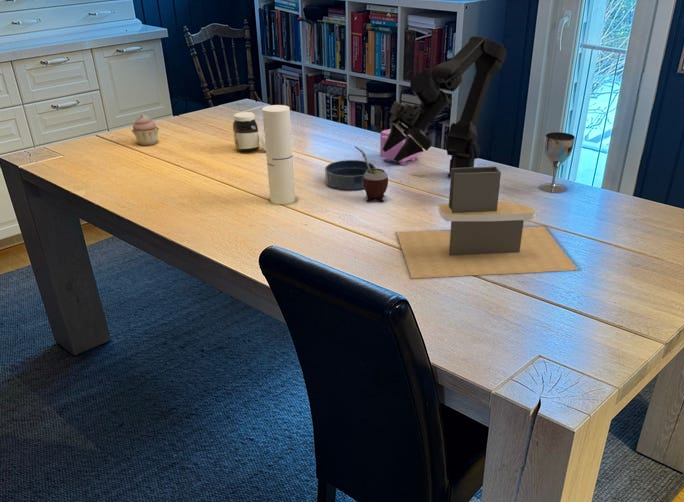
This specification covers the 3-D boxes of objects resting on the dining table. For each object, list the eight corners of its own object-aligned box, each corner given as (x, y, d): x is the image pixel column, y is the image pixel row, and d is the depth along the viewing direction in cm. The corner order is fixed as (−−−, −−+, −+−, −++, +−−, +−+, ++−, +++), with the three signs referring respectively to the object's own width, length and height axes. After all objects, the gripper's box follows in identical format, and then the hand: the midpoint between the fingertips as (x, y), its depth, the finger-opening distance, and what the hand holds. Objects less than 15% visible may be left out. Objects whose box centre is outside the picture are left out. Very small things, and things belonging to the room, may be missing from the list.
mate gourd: (393, 199, 191) (393, 146, 182) (372, 206, 187) (372, 152, 178) (375, 192, 196) (375, 140, 187) (354, 199, 191) (353, 145, 183)
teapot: (423, 167, 214) (424, 132, 208) (381, 167, 214) (381, 132, 208) (418, 152, 227) (419, 119, 221) (378, 153, 226) (379, 120, 220)
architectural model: (543, 226, 174) (555, 149, 163) (578, 270, 153) (594, 185, 142) (396, 232, 171) (398, 155, 160) (411, 278, 150) (414, 192, 139)
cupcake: (133, 140, 240) (127, 111, 234) (160, 138, 242) (155, 109, 236) (134, 148, 232) (128, 118, 227) (162, 145, 235) (156, 116, 229)
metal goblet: (535, 190, 196) (542, 138, 188) (542, 181, 202) (550, 130, 194) (562, 194, 193) (571, 141, 185) (569, 186, 199) (577, 134, 191)
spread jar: (232, 147, 233) (228, 112, 226) (264, 143, 237) (261, 108, 230) (242, 157, 224) (238, 121, 217) (275, 152, 228) (272, 116, 221)
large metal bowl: (385, 179, 204) (385, 166, 202) (355, 194, 194) (355, 179, 192) (346, 170, 212) (346, 157, 209) (315, 183, 202) (314, 169, 200)
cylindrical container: (291, 205, 188) (284, 112, 174) (266, 203, 189) (258, 111, 175) (298, 196, 193) (292, 105, 179) (274, 194, 195) (267, 104, 181)
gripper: (396, 82, 185) (358, 127, 188) (422, 98, 170) (380, 146, 174) (422, 109, 191) (385, 152, 195) (449, 127, 177) (408, 173, 180)
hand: (389, 155), depth 186 cm, fingers open, 9 cm apart
